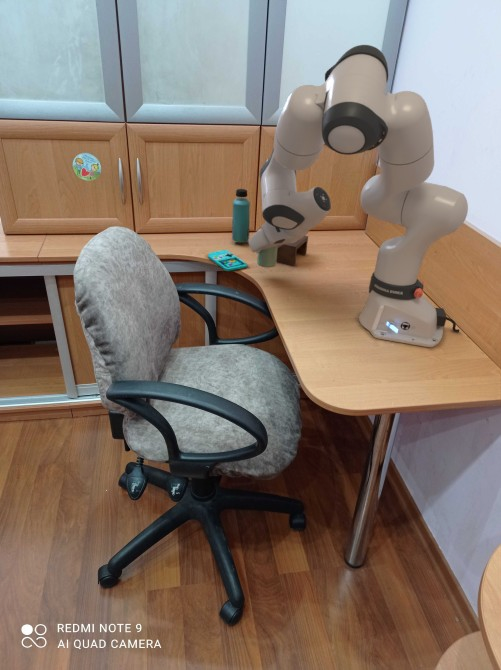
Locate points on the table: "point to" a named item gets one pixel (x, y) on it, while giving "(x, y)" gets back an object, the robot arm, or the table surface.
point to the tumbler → (268, 257)
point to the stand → (292, 251)
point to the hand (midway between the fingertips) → (266, 248)
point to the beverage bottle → (241, 217)
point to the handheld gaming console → (227, 260)
